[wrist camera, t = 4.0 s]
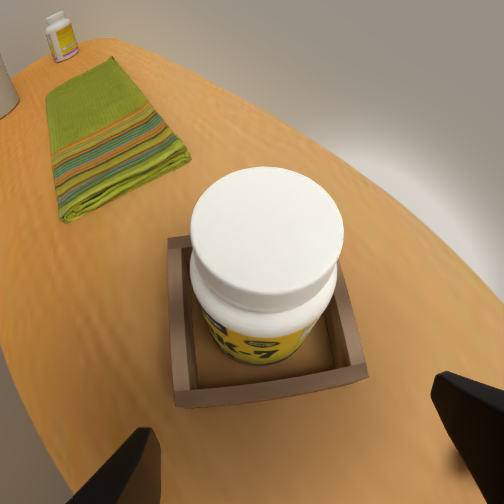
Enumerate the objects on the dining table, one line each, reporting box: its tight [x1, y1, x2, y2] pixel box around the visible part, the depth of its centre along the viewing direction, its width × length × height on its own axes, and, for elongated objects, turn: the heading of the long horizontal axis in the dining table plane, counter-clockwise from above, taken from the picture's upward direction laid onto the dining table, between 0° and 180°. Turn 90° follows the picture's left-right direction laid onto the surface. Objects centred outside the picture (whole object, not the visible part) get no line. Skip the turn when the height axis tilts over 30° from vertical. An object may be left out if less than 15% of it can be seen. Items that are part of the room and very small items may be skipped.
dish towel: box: [46, 56, 191, 223], centre depth 36 cm, size 15×36×3 cm, turn 33°
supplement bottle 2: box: [190, 167, 344, 366], centre depth 18 cm, size 7×7×13 cm
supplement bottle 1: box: [45, 11, 79, 62], centre depth 48 cm, size 7×7×13 cm
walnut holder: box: [168, 235, 369, 409], centre depth 22 cm, size 12×12×4 cm
